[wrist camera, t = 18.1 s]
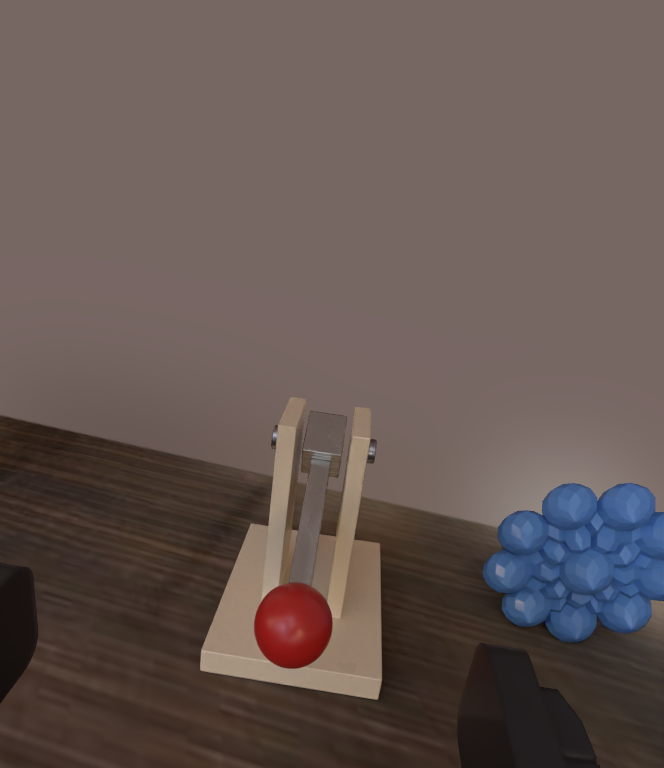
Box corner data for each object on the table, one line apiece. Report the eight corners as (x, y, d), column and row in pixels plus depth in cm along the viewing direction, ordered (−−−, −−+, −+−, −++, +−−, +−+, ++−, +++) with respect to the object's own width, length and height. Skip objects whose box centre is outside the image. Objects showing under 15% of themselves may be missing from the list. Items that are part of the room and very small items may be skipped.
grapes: (632, 614, 37) (691, 469, 33) (667, 694, 31) (745, 527, 27) (469, 573, 39) (507, 431, 35) (471, 640, 33) (517, 477, 29)
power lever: (324, 682, 24) (329, 664, 21) (247, 670, 24) (243, 650, 21) (353, 445, 32) (360, 411, 29) (297, 437, 32) (298, 402, 30)
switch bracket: (378, 700, 28) (423, 481, 24) (199, 671, 28) (210, 449, 24) (377, 559, 39) (408, 392, 35) (249, 539, 40) (263, 372, 35)
